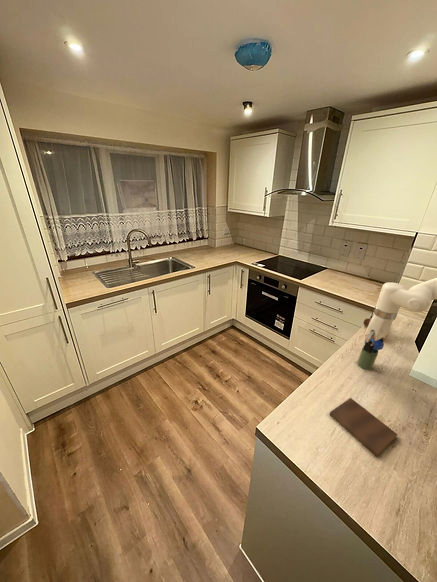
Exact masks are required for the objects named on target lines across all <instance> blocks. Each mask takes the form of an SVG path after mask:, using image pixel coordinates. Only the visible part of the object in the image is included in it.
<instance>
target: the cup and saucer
mask: <svg viewBox="0 0 437 582" xmlns="http://www.w3.org/2000/svg"><path fill="white" fill-rule="evenodd" d="M372 316H373V315H370V317H369V318H365V319H364V320H363V326H364V327H366V328H367V327H368V325H369V323H370V321H371V319H372Z"/></svg>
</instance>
